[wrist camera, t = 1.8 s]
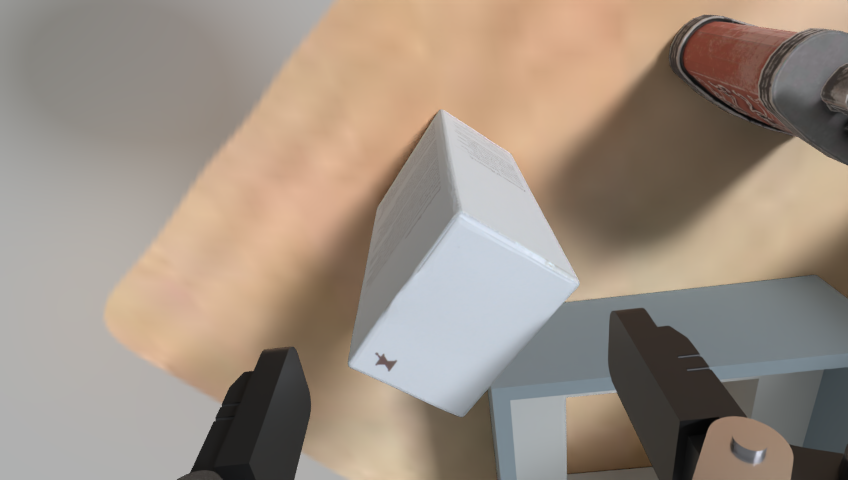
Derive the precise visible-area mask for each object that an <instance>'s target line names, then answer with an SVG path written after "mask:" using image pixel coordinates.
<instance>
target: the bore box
mask: <svg viewBox="0 0 848 480" xmlns="http://www.w3.org/2000/svg"><path fill="white" fill-rule="evenodd" d="M634 308H644V309H645V310H646V311H647V312H648V314H649V315H650V317H651V318H652V320H653V321H654V323H655V324H656V325H657V327H660V326H671V327H672V328H674V329H675V330H677V331H678V332H680V333H681V334H683V335H684V336H686V337H687V338H688V339H689V340H690V341H691V343H692V344H693V345H694V347H695V348H696V349H697V351H698V352H699V353H700V357H703V359H704V360H705V361H706V363H707V364H708V365H709V369H710V370H712V371H713V372H714V373H715V375H716V376H717V377H718V379H719V380H720V381H721V382H722V384H723V385H724V387H725V388H726V389H727V391H728V392H729V393H730V395H731V396H732V397H733V399H734V400H735V401H736V403H737V404H738V405H739V407H740V408H741V409H742V411H743V412H744V413H745V415H746V416H747V417H748V418H750V419H753V420H756V421H759V422H761V423H763V424H765V425H767V426H769V427H771V428H772V429H774V430H775V431H777V432H778V433H779V434H780V435H781V436H782V437H783V438H784V439H785V440H786V441H787V442H788V444H791V445H794V446H799V447H804V448H810V449H817V450H823V451H830V452H836V453H843V454H844V451H845V448H846V446H847V444H848V299H847V298H846V297H845V296H843V295H842V294H841V293H839V292H838V291H837V290H836V289H834V288H833V287H832V286H830V285H829V284H828V283H826V282H825V281H824V280H822V279H821V278H820V277H818V276H817V275H810V276H800V277H791V278H782V279H773V280H764V281H755V282H746V283H737V284H728V285H719V286H710V287H701V288H692V289H683V290H674V291H665V292H656V293H647V294H637V295H628V296H619V297H610V298H601V299H592V300H583V301H574V302H565V303H563V304H562V305H561V306H560V307H559V308H558V309H557V310H556V312H555V313H554V314H553V315H552V316H551V317H550V318H549V320H548V321H547V322H546V323H545V324H544V325H543V327H542V328H541V329H540V330H539V331H538V332H537V333H536V334H535V336H534V337H533V338H532V339H531V340H530V341H529V342H528V343H527V345H526V346H525V347H524V348H523V349H522V350H521V352H520V353H519V354H518V355H517V356H516V357H515V359H514V360H513V361H512V362H511V363H510V364H509V366H508V367H507V368H506V369H505V370H504V371H503V373H502V374H501V375H500V376H499V377H498V378H497V379H496V381H495V382H494V383H493V384H492V385H491V386H490V387H489V389H488V397H489V406H490V415H491V425H492V434H493V443H494V452H495V462H496V471H497V480H659V479H658V477H657V475H656V473H655V471H654V469H653V467H645V468H633V469H622V470H610V471H599V472H588V473H576V474H567V445H566V397H577V396H587V395H597V394H607V393H617V391H616V389H615V387H614V385H613V383H612V380H611V376H610V372H609V367H608V343H609V319H610V313H611V312H612V311H616V310H625V309H634Z"/></svg>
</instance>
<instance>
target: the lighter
mask: <svg viewBox="0 0 848 480" xmlns="http://www.w3.org/2000/svg"><path fill="white" fill-rule="evenodd" d="M669 62H670V67H671V68H672V70H673V71H674V73H675V74H677V75H678V76H679V77H680V78H681V79H682V80H683V81H684V82H685V83H687V84H688V85H689V86H690V87H691V88H692V89H693V90H694V91H696V92H697V93H698V94H699V95H701V96H702V97H704V98H705V99H707V100H709V101H710V102H712V103H713V104H715V105H716V106H718V107H719V108H721V109H722V110H724V111H726V112H728V113H730V114H733V115H735V116H737V117H740V118H742V119H744V120H747V121H749V122H751V123H754V124H756V125H758V126H761V127H763V128H766V129H770V130H773V131H777V132H781V133H785V134H788V135H792V136H797V137H799V138H800V139H802V140H803V141H805V142H806V143H808V144H809V145H811V146H812V147H814V148H815V149H817V150H818V151H820V152H821V153H823V154H824V155H826V156H828V157H830V158H832V159H834V160H837V161H839V162H841V163H844V164H846V165H848V33H846V32H842V31H836V30H828V29H814V28H810V29H807V30H804V31H801V32H798V33H797V32H790V31H783V30H776V29H769V28H762V27H758V26H755V25H751V24H748V23H744V22H741V21H738V20H734V19H731V18H727V17H724V16H716V15H702V16H699V17H696V18H693V19H692V20H691V21H689V22H688V23H686V24H685V25H684V26H683V27H682V28H681V29H680V31H679V32H678V33H677V34H676V36H675V38H674V40H673V42H672V44H671V47H670V52H669Z"/></svg>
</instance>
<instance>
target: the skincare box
mask: <svg viewBox="0 0 848 480" xmlns="http://www.w3.org/2000/svg"><path fill="white" fill-rule="evenodd" d="M578 286H579V280H578V278H577V276H576V274H575V272H574V270H573V268H572V266H571V265H570V263H569V261H568V259H567V258H566V256H565V254H564V252H563V250H562V248H561V246H560V244H559V243H558V241H557V239H556V237H555V235H554V233H553V231H552V230H551V228H550V226H549V224H548V222H547V220H546V218H545V217H544V215H543V213H542V211H541V209H540V207H539V205H538V203H537V202H536V200H535V198H534V196H533V194H532V192H531V190H530V188H529V187H528V185H527V183H526V181H525V179H524V177H523V175H522V173H521V171H520V170H519V168H518V166H517V164H516V162H515V160H514V158H513V157H512V155H511V153H509V152H508V151H507V150H505V149H503V148H501V147H500V146H498V145H497V144H495V143H494V142H492V141H491V140H489V139H488V138H486V137H485V136H483V135H481V134H480V133H478V132H477V131H475V130H474V129H472V128H471V127H469V126H468V125H466V124H465V123H463V122H462V121H460V120H458V119H457V118H455V117H454V116H452V115H451V114H449V113H448V112H446V111H444V110H442V109H441V110H439V111H438V113H437V114H436V116H435V117H434V119H433V120H432V122H431V124H430V125H429V127H428V128H427V130H426V131H425V133H424V135H423V136H422V138H421V139H420V141H419V142H418V144H417V146H416V147H415V149H414V150H413V152H412V154H411V155H410V157H409V158H408V160H407V161H406V163H405V165H404V166H403V168H402V169H401V171H400V172H399V174H398V176H397V177H396V179H395V180H394V182H393V184H392V185H391V187H390V188H389V190H388V191H387V193H386V195H385V196H384V198H383V199H382V201H381V203H380V204H379V206H378V207H377V211H376V217H375V222H374V227H373V232H372V237H371V242H370V248H369V254H368V259H367V264H366V269H365V275H364V280H363V284H362V289H361V295H360V300H359V305H358V311H357V315H356V320H355V324H354V329H353V335H352V340H351V346H350V353H349V359H348V366H349V367H350V368H352V369H354V370H357V371H359V372H361V373H363V374H366V375H368V376H370V377H372V378H375V379H377V380H379V381H381V382H383V383H386V384H388V385H390V386H392V387H394V388H396V389H399V390H401V391H403V392H405V393H407V394H409V395H411V396H413V397H415V398H418V399H420V400H422V401H424V402H426V403H428V404H431V405H433V406H435V407H437V408H439V409H442V410H444V411H446V412H449V413H451V414H453V415H456V416H459V417H463V416H465V415H466V414H467V412H468V411H469V410H470V409H471V408H472V407H473V406H474V404H475V403H476V402H477V401H478V400H479V399H480V398H481V396H482V395H483V394H484V393H485V392H486V391H487V390H488V389H489V387H490V386H491V385H492V384H493V383H494V382H495V381H496V379H497V378H498V377H499V376H500V375H501V374H502V373H503V371H504V370H505V369H506V368H507V367H508V366H509V364H510V363H511V362H512V361H513V360H514V359H515V357H516V356H517V355H518V354H519V353H520V352H521V350H522V349H523V348H524V347H525V346H526V345H527V343H528V342H529V341H530V340H531V339H532V338H533V337H534V336H535V334H536V333H537V332H538V331H539V330H540V329H541V328H542V327H543V325H544V324H545V323H546V322H547V321H548V320H549V318H550V317H551V316H552V315H553V314H554V313H555V312H556V310H557V309H558V308H559V307H560V306H561V305H562V304H563V303H564V302H565V300H566V299H567V298H568V297H569V296H570V295H571V294H572V293H573V292H574V291H575V290H576V289H577V288H578Z"/></svg>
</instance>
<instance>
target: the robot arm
mask: <svg viewBox="0 0 848 480" xmlns="http://www.w3.org/2000/svg"><path fill="white" fill-rule="evenodd" d="M608 367H609V372H610V376H611V380H612V383H613V385H614V387H615V389H616V391H617V393H618V396H619V398H620V400H621V402H622V404H623V406H624V408H625V410H626V412H627V414H628V416H629V418H630V421H631V423H632V425H633V427H634V429H635V431H636V433H637V435H638V437H639V439H640V441H641V443H642V446H643V448H644V450H645V452H646V454H647V456H648V458H649V460H650V462H651V464H652V466H653V469H654V471H655V473H656V475H657V477H658V479H659V480H848V444H847V446H846V448H845V451H844V454H843V453H836V452H830V451H823V450H817V449H810V448H804V447H799V446H794V445H791V444H788V442H787V441H786V440H785V439H784V438H783V437H782V436H781V435H780V434H779V433H778V432H777V431H775V430H774V429H772V428H771V427H769V426H767V425H765V424H763V423H761V422H759V421H756V420H753V419H750V418H748V417H747V416H746V415H745V413H744V412H743V411H742V409H741V408H740V407H739V405H738V404H737V403H736V401H735V400H734V399H733V397H732V396H731V395H730V393H729V392H728V391H727V389H726V388H725V387H724V385H723V384H722V383H721V381H720V380H719V379H718V377H717V376H716V375H715V373H714V372H713V371H712V370H710V369H709V365H708V364H707V363H706V361H705V360H704V359H703V357H700V353H699V352H698V351H697V349H696V348H695V347H694V345H693V344H692V343H691V341H690V340H689V339H688V338H687V337H686V336H684V335H683V334H681V333H680V332H678V331H677V330H675V329H674V328H672V327H671V326H660V327H657V325H656V324H655V323H654V321H653V320H652V318H651V317H650V315H649V314H648V312H647V311H646V310H645V309H644V308H634V309H625V310H616V311H612V312H611V313H610V319H609V343H608ZM310 412H311V399H310V392H309V388H308V385H307V382H306V379H305V376H304V372H303V369H302V366H301V363H300V360H299V357H298V353H297V351H296V349H295V348H294V347H284V348H275V349H266V350H263V351H262V353H261V355H260V357H259V360H258V362H257V365H256V367H255V369H254V371H249V372H244V373H243V374H242V375H241V376H240V377H239V378H238V379H237V380H236V381H235V382H234V383H233V384H232V386H231V387H230V388H229V390H228V392H227V394H226V396H225V399H224V401H223V403H222V407H221V408H220V410H219V412H218V414H217V416H216V421H214V422H213V425H212V427H211V429H210V431H209V433H208V435H207V438H206V440H205V442H204V444H203V446H202V449H201V451H200V453H199V455H198V457H197V459H196V461H195V464H194V466H193V468H192V470H191V472H190V473H189V474H187V475H184V476H183V477H181V478H179V479H177V480H294V478H295V473H296V470H297V465H298V462H299V458H300V454H301V450H302V446H303V442H304V438H305V434H306V430H307V425H308V421H309V417H310Z"/></svg>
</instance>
